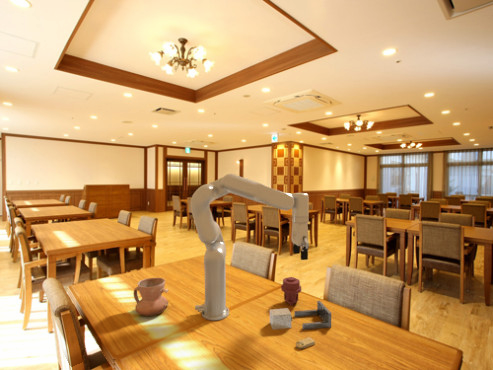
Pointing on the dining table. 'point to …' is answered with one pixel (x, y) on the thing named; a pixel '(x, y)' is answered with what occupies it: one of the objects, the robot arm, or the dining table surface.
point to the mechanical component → (291, 289)
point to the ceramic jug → (151, 297)
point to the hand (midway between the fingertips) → (300, 256)
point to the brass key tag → (305, 343)
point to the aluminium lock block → (280, 318)
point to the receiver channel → (320, 311)
